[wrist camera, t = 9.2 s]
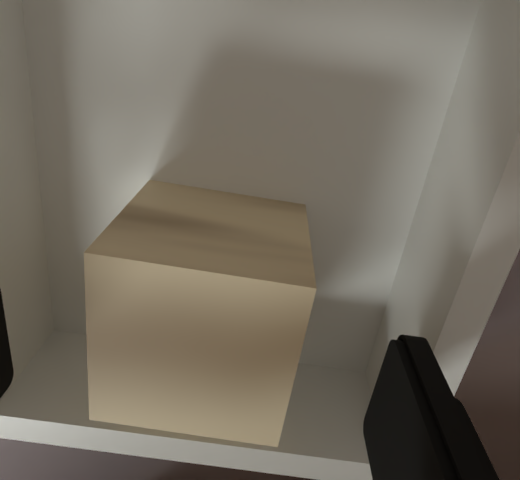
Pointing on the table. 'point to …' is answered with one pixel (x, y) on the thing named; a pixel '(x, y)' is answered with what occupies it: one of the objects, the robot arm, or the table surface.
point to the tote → (262, 188)
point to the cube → (198, 312)
